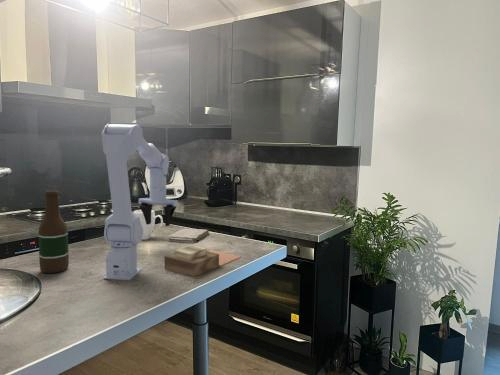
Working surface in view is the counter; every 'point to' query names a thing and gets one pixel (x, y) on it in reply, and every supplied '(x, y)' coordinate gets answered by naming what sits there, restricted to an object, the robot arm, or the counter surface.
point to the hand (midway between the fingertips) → (158, 224)
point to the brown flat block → (192, 264)
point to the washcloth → (187, 235)
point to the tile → (190, 252)
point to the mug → (148, 228)
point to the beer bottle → (53, 237)
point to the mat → (225, 257)
